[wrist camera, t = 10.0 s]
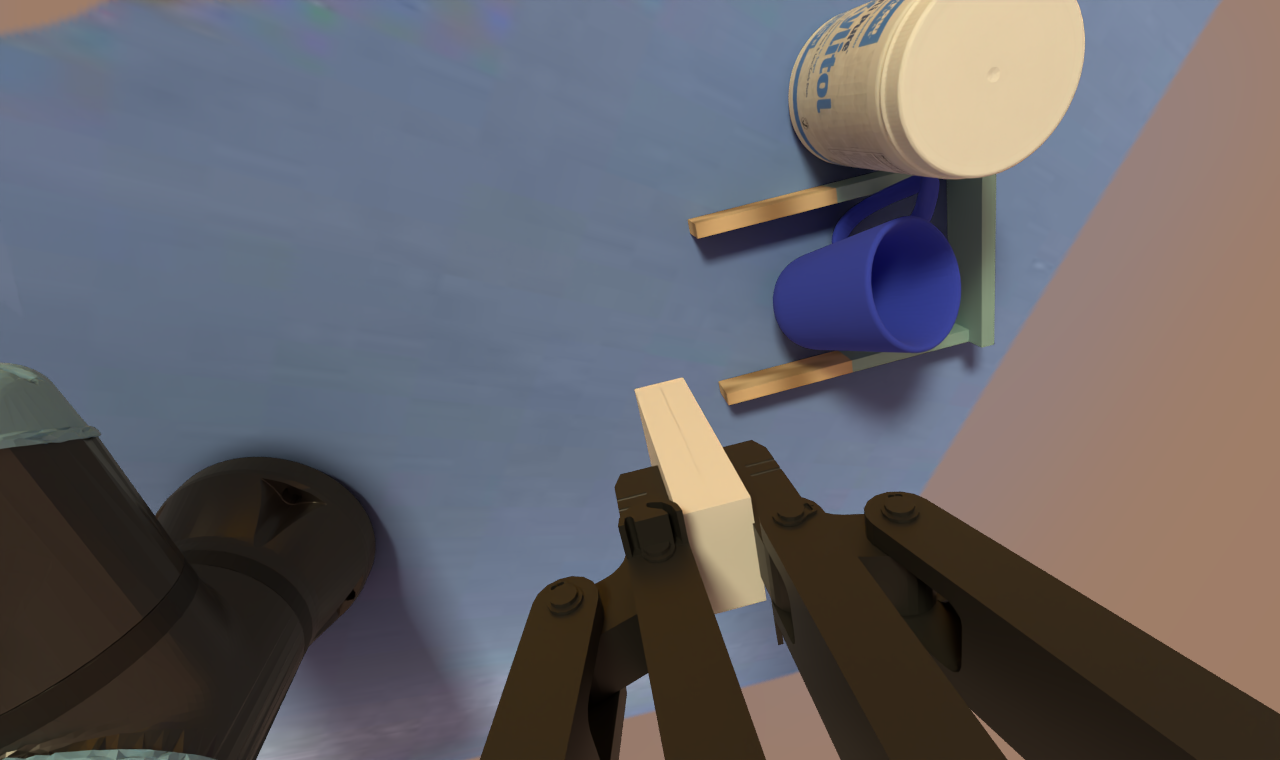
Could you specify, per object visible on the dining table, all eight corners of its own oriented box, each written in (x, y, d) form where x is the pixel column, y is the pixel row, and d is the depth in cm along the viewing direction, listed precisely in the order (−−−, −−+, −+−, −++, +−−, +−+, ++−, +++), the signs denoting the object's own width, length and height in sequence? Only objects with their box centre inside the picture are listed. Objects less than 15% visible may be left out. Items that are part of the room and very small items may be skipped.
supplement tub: (801, -1, 38) (935, -77, 25) (933, 25, 40) (1126, -33, 27) (769, 158, 42) (872, 167, 28) (893, 176, 44) (1045, 193, 30)
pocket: (838, 361, 49) (862, 379, 45) (821, 185, 43) (845, 189, 39) (961, 328, 49) (994, 344, 45) (959, 150, 43) (996, 151, 40)
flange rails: (720, 392, 48) (728, 405, 46) (687, 219, 43) (695, 224, 40) (838, 361, 49) (852, 372, 46) (821, 185, 43) (836, 188, 41)
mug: (867, 234, 48) (988, 200, 39) (826, 375, 46) (944, 373, 37) (792, 183, 44) (906, 132, 35) (744, 333, 42) (852, 319, 33)
